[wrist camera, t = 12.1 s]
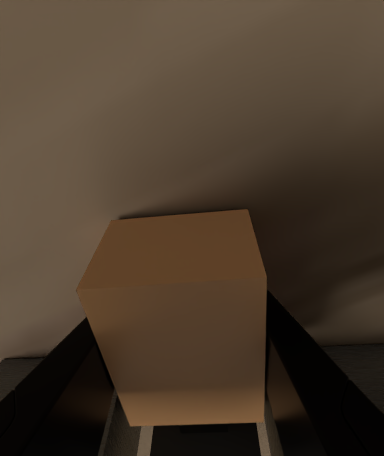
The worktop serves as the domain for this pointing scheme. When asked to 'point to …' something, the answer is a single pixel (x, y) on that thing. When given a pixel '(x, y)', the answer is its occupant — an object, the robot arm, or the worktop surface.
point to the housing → (342, 355)
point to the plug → (183, 328)
